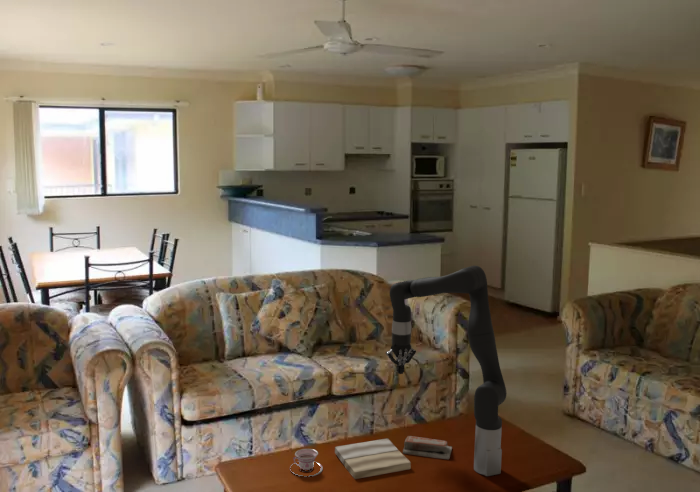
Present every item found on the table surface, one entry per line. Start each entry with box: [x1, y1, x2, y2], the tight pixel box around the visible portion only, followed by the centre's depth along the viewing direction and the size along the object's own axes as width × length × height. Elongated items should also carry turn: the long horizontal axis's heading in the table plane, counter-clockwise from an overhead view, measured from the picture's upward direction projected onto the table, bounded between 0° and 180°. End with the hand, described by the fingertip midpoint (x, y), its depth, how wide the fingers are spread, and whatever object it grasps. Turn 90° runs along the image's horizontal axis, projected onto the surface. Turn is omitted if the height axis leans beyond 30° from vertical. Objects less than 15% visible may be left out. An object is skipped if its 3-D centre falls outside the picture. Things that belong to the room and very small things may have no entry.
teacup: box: [289, 448, 324, 478], centre depth 244 cm, size 12×12×6 cm
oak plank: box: [344, 450, 412, 480], centre depth 246 cm, size 10×22×3 cm, turn 112°
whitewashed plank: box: [334, 438, 399, 466], centre depth 256 cm, size 10×22×2 cm, turn 112°
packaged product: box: [402, 435, 453, 460], centre depth 260 cm, size 18×5×10 cm
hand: (400, 373), depth 268 cm, fingers closed
